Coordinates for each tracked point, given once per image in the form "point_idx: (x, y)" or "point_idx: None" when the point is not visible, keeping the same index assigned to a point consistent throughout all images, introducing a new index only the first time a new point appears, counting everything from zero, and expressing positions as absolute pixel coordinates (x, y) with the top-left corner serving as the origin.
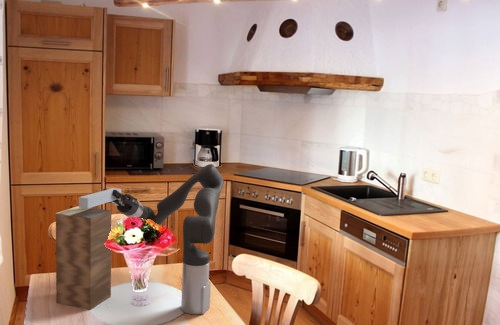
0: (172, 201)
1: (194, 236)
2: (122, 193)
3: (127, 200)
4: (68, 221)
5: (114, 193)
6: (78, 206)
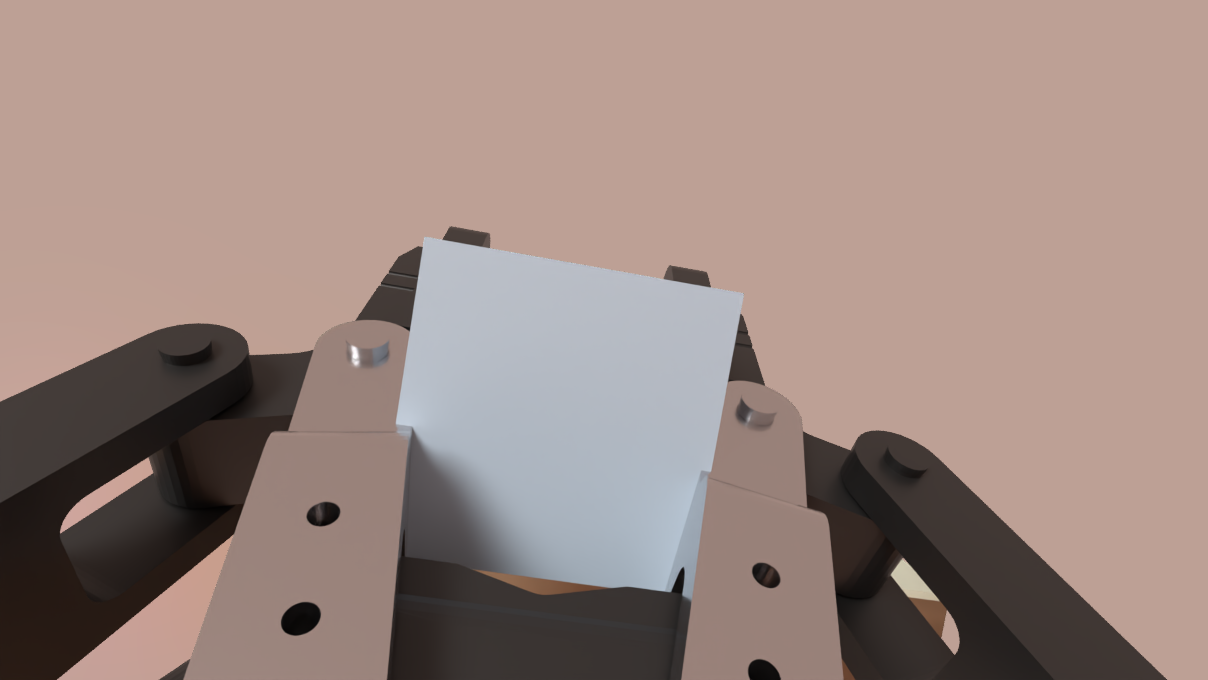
0: None
1: None
2: (323, 336)
3: (118, 505)
4: None
5: None
6: (924, 586)
